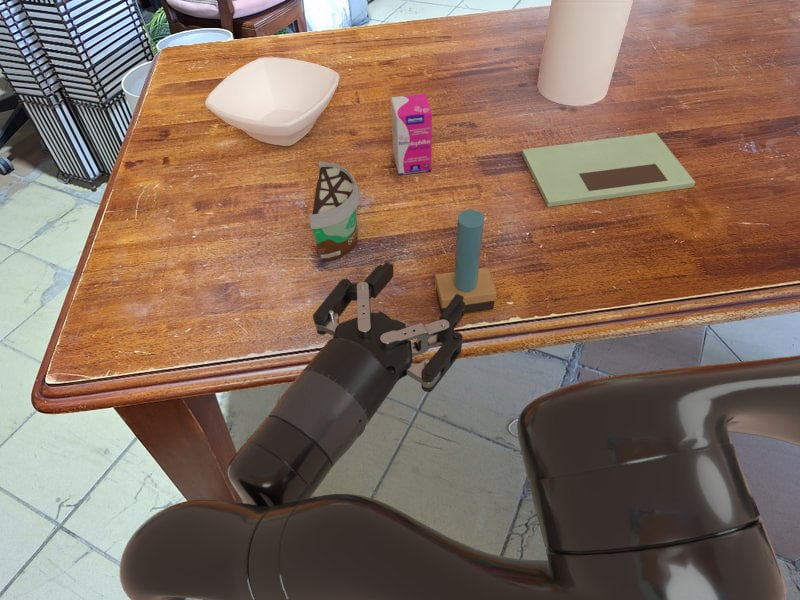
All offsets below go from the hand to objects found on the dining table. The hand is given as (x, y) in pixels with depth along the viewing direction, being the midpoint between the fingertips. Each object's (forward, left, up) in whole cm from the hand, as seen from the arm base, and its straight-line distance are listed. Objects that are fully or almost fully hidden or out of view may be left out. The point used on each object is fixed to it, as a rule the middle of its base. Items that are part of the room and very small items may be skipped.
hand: (424, 283), depth 55 cm
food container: (+8, -23, -14) cm, 28 cm away
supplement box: (-5, -39, -14) cm, 41 cm away
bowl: (+17, -54, -14) cm, 58 cm away
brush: (-7, -8, -14) cm, 17 cm away
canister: (-40, -57, -14) cm, 71 cm away
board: (-36, -31, -14) cm, 49 cm away
